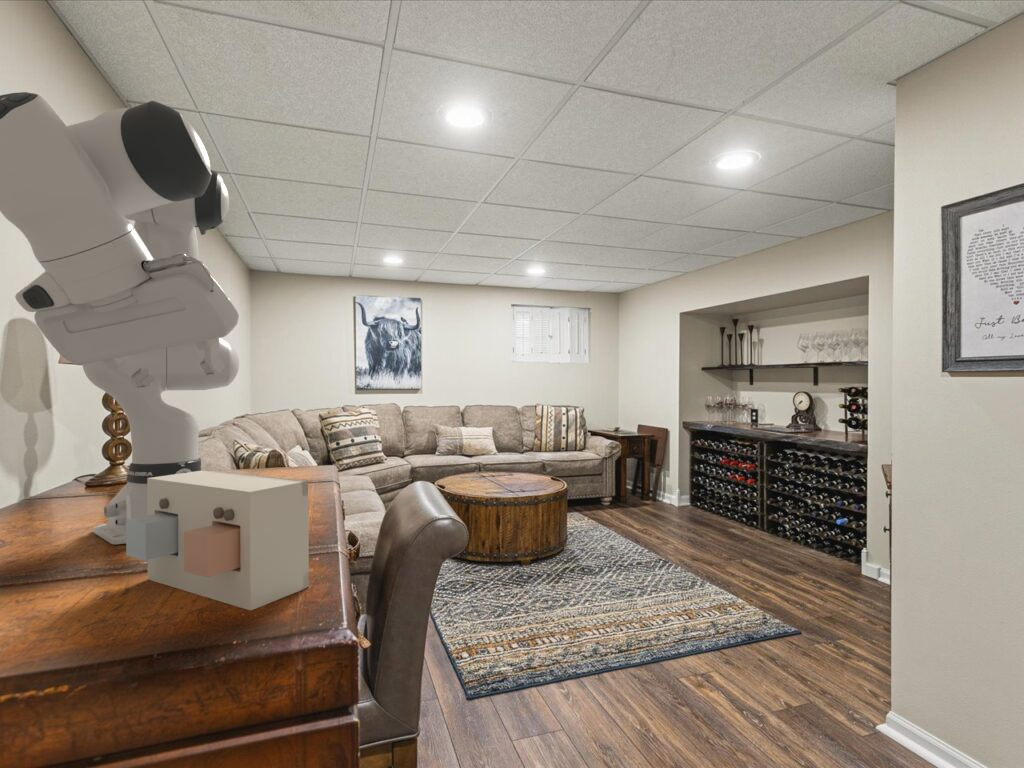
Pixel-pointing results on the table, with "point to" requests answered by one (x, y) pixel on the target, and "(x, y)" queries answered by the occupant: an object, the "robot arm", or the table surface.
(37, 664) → the table surface
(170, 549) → the button one
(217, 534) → the button two
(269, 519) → the block
